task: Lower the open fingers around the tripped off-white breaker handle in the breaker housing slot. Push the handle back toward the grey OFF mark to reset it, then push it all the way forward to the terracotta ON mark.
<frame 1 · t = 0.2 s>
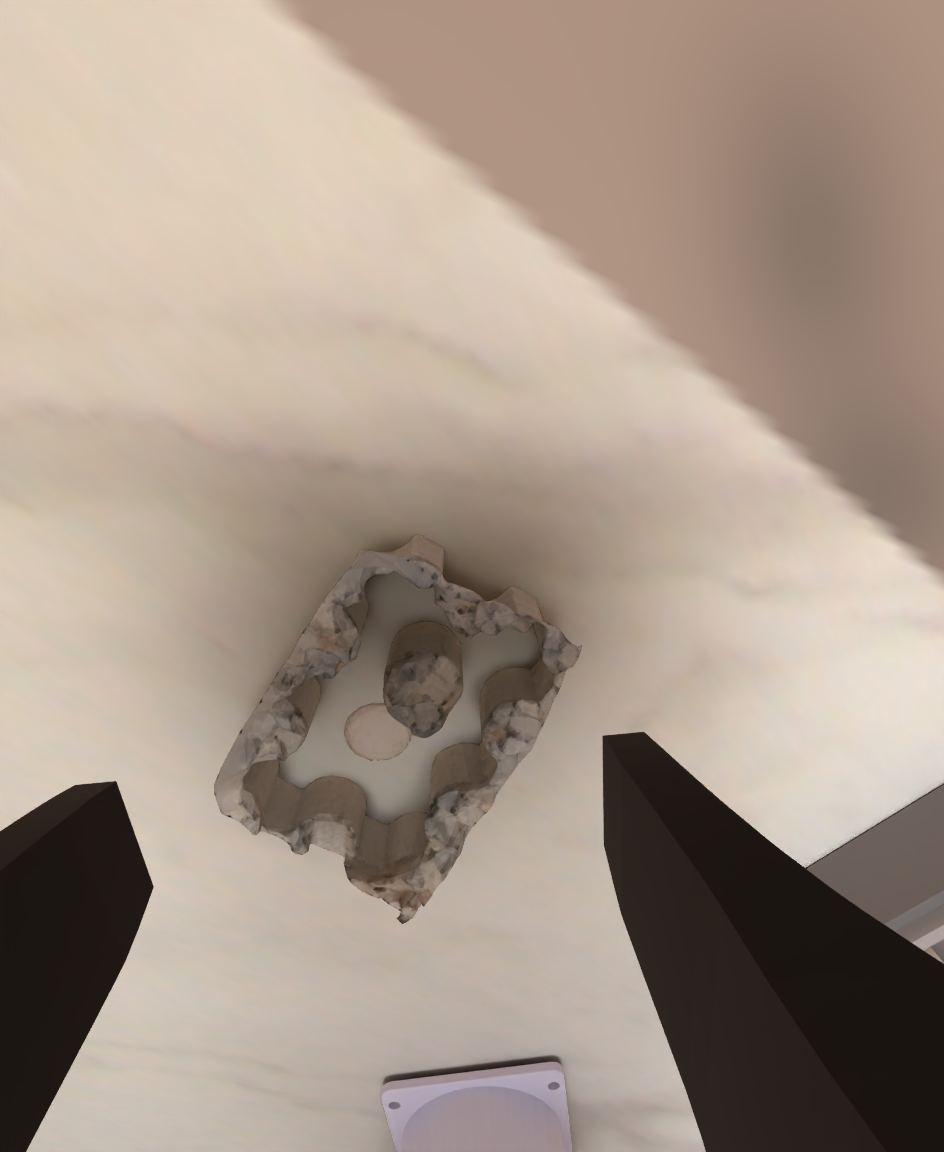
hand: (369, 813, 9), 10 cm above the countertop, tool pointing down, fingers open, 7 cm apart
egg carton: (397, 684, 20), on the countertop
breaker housing: (822, 923, 24), on the countertop
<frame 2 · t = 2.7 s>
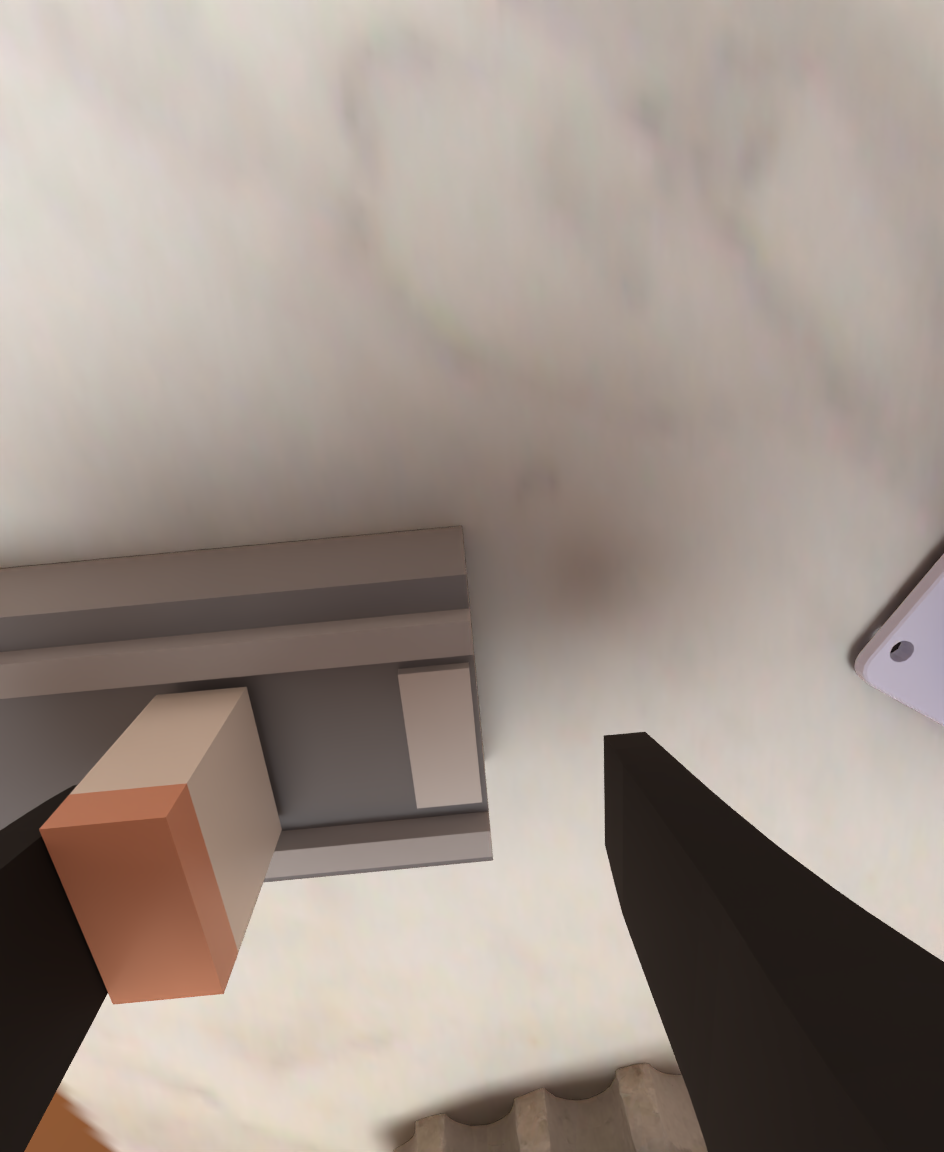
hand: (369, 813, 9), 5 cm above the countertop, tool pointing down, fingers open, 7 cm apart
egg carton: (556, 1136, 20), on the countertop
breaker handle: (186, 829, 9), point 5 cm above the countertop, slide at 0.5 cm, touching gripper
breaker housing: (297, 670, 13), on the countertop
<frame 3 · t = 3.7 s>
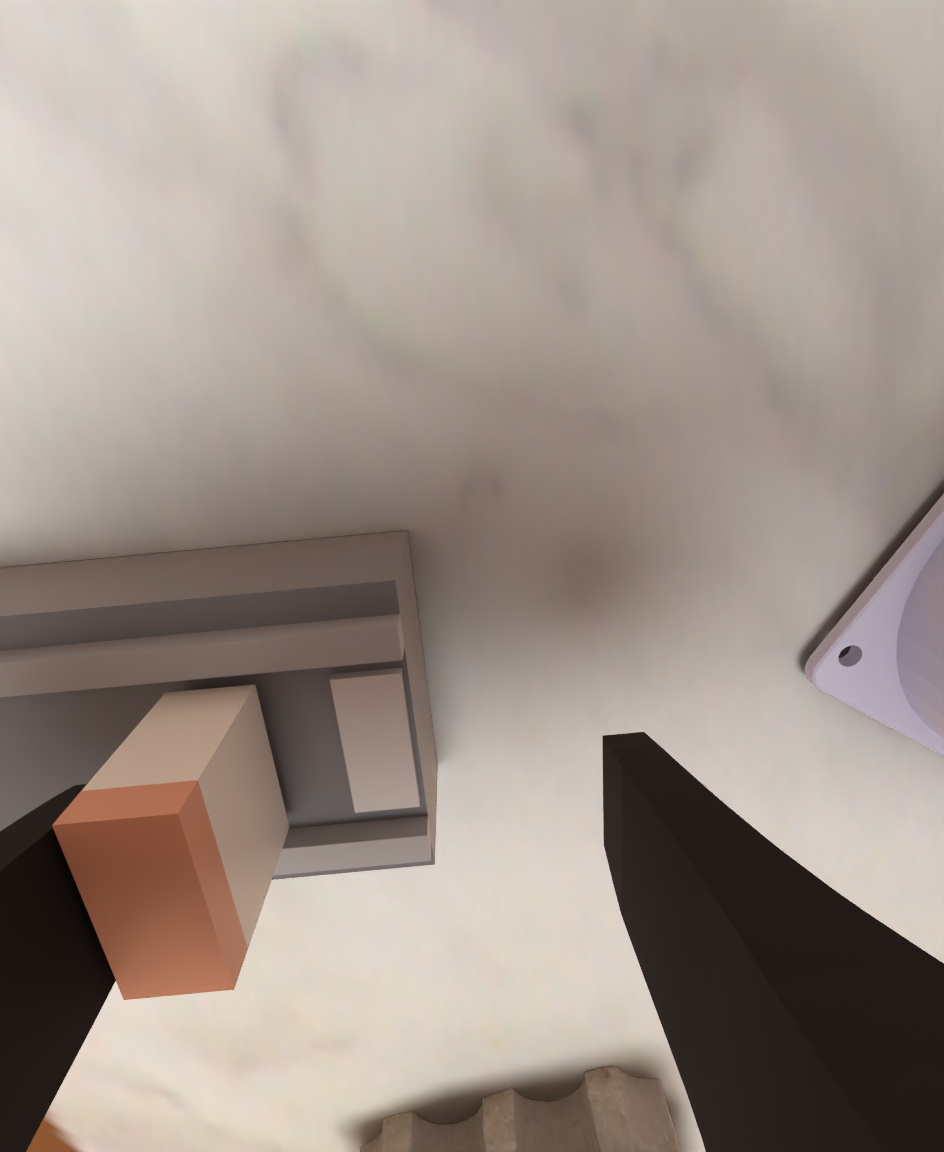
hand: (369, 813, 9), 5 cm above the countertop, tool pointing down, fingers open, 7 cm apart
egg carton: (524, 1137, 21), on the countertop
breaker handle: (196, 826, 9), point 5 cm above the countertop, slide at -0.7 cm
breaker housing: (248, 673, 14), on the countertop
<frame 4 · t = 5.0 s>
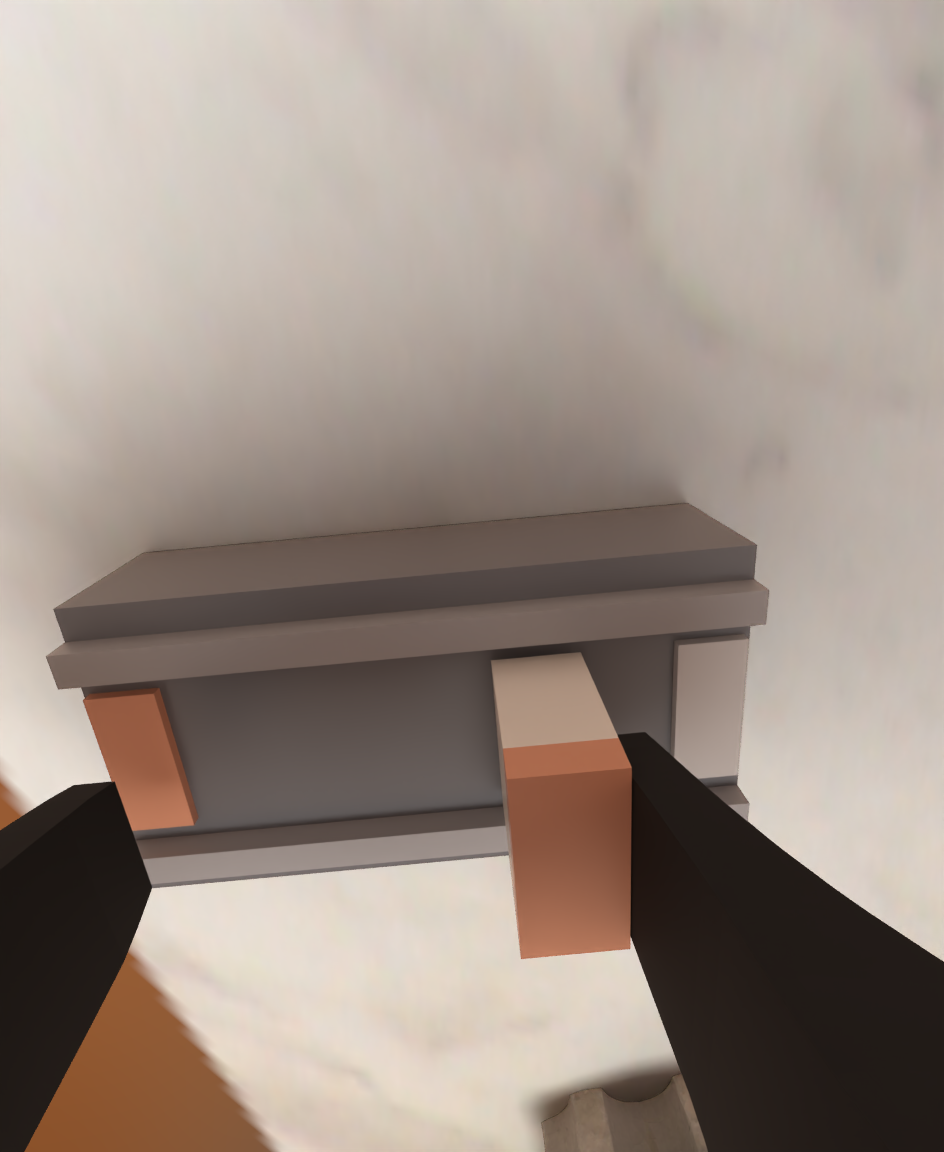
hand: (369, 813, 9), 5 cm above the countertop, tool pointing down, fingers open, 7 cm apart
egg carton: (696, 1118, 21), on the countertop
breaker handle: (553, 790, 9), point 5 cm above the countertop, slide at -0.3 cm, touching gripper
breaker housing: (507, 648, 14), on the countertop
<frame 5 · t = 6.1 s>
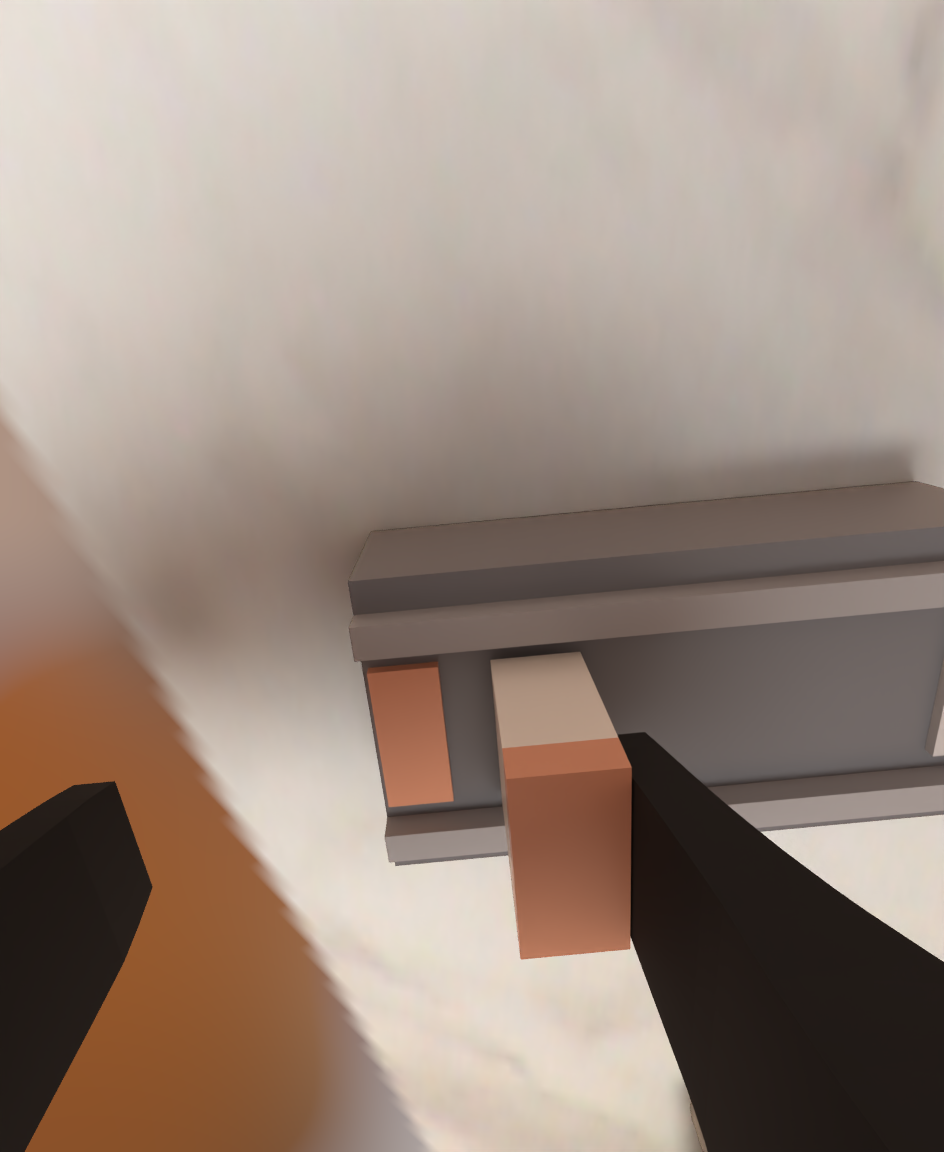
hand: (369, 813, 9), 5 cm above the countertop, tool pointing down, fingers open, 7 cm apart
breaker handle: (553, 790, 9), point 5 cm above the countertop, slide at 4.6 cm, touching gripper
breaker housing: (718, 628, 14), on the countertop
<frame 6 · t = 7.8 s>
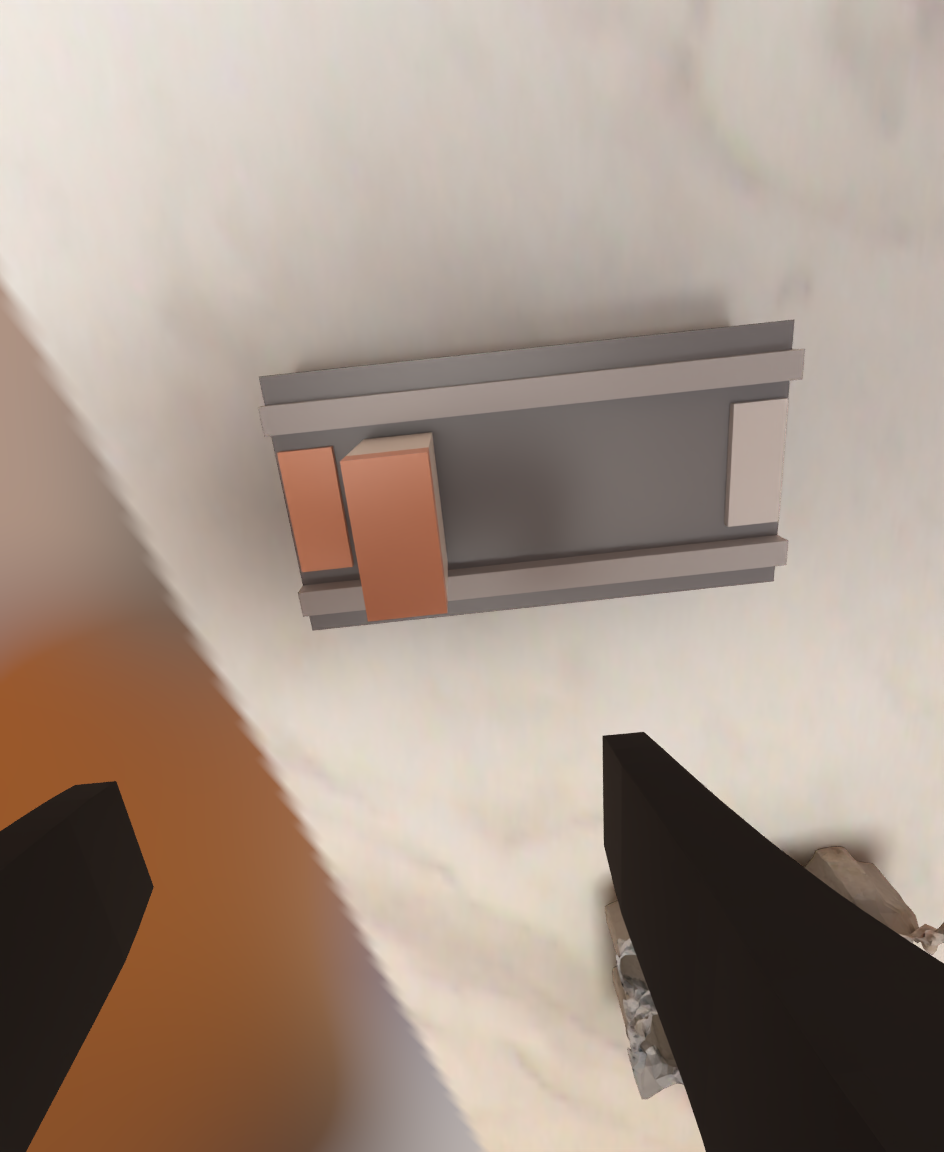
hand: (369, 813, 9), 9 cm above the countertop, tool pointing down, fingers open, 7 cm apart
egg carton: (735, 919, 23), on the countertop
breaker handle: (402, 519, 12), point 5 cm above the countertop, slide at 4.7 cm
breaker housing: (583, 458, 17), on the countertop
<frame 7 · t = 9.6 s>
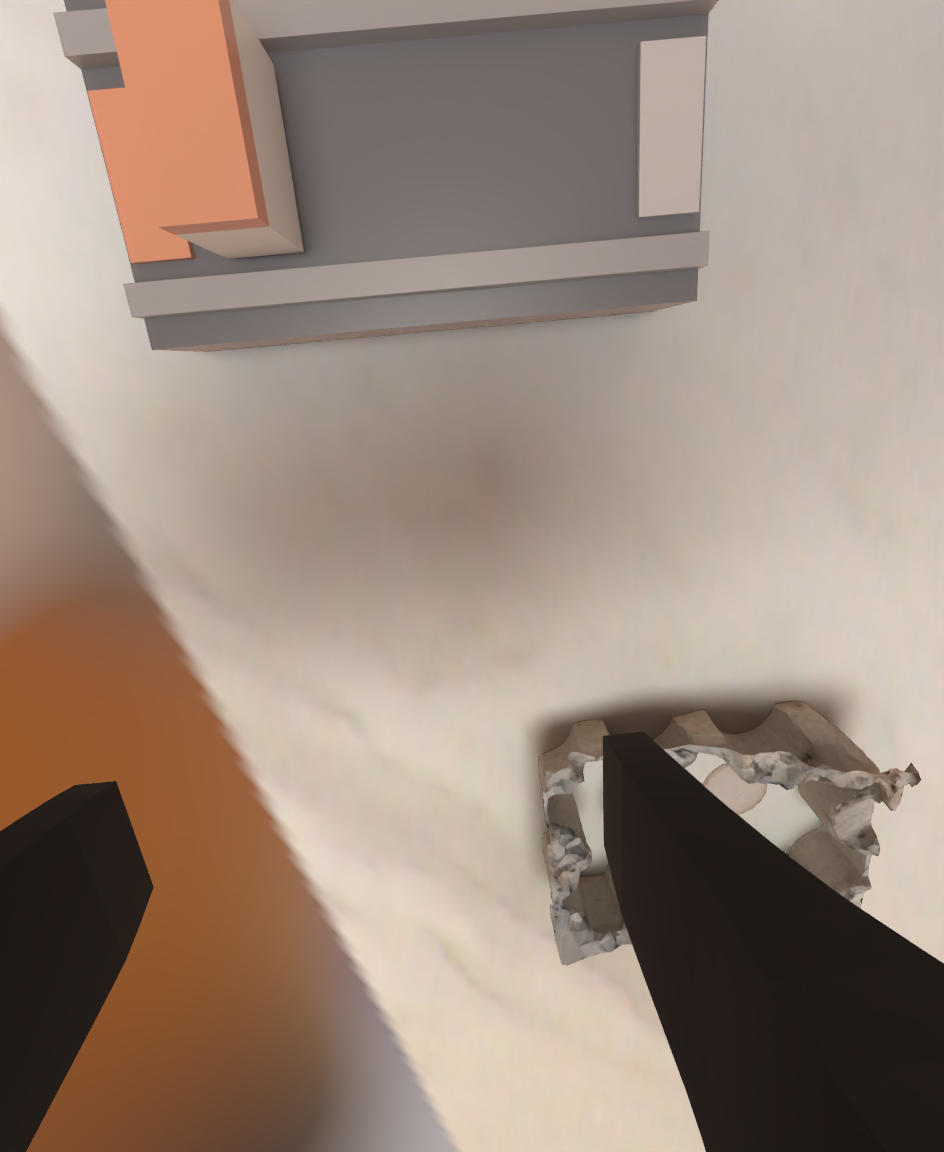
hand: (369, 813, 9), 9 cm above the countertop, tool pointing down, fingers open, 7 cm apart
egg carton: (681, 788, 21), on the countertop
breaker handle: (221, 138, 10), point 5 cm above the countertop, slide at 4.7 cm
breaker housing: (488, 190, 14), on the countertop
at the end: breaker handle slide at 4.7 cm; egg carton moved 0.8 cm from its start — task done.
